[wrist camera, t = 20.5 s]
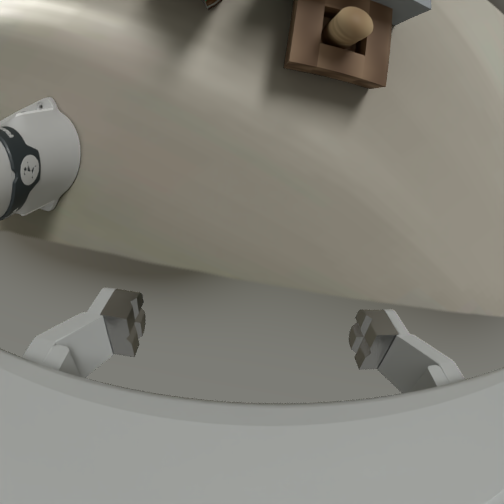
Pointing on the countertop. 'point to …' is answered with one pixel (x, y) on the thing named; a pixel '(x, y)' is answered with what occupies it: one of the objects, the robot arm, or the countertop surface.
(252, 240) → the countertop surface
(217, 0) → the green rounded container
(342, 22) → the dowel
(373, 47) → the block
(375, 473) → the robot arm
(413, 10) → the wall
